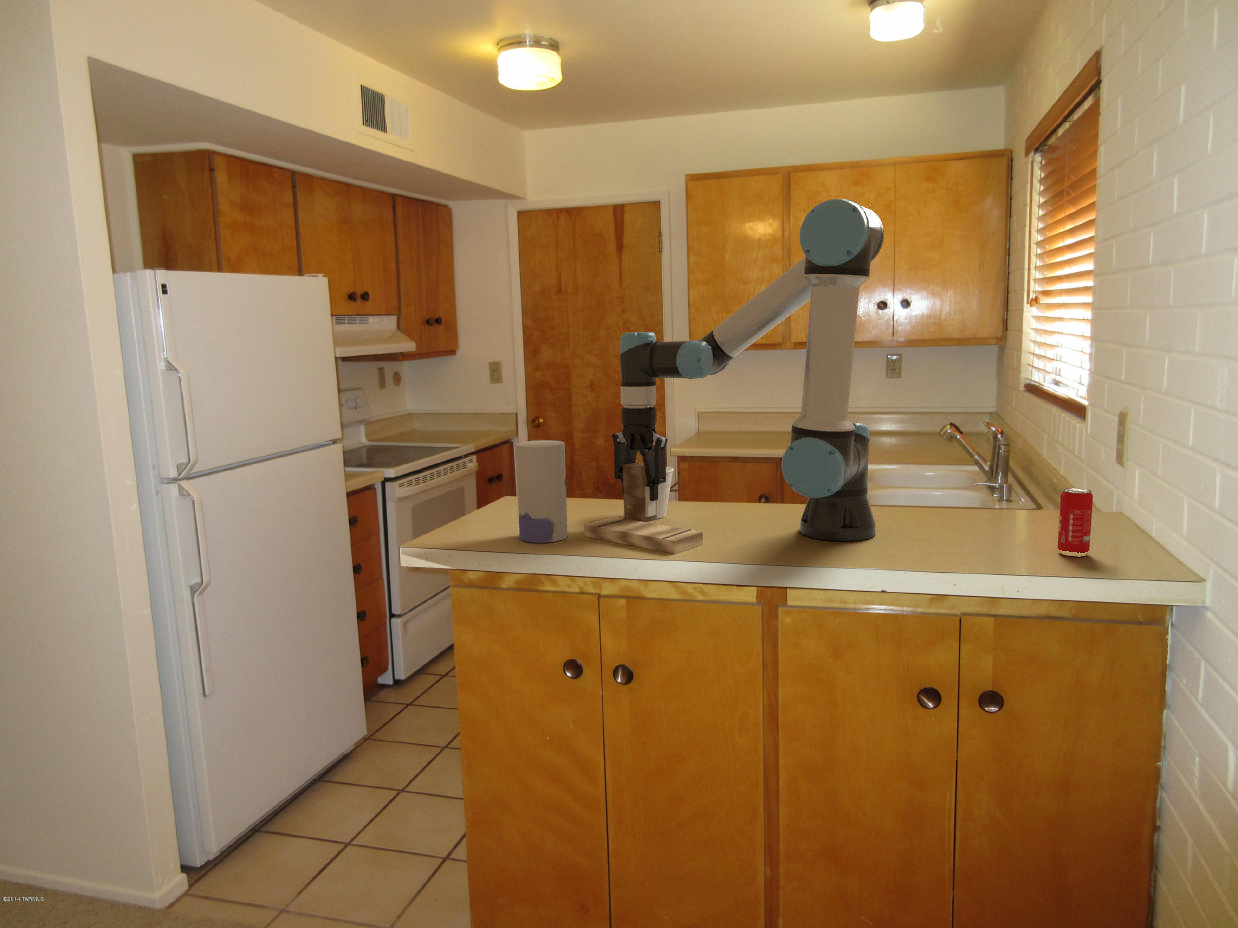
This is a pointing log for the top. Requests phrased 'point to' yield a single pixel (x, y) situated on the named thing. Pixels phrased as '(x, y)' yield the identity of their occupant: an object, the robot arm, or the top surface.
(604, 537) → the plank
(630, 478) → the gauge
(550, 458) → the container
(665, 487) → the cup
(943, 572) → the top surface
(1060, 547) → the beverage can
